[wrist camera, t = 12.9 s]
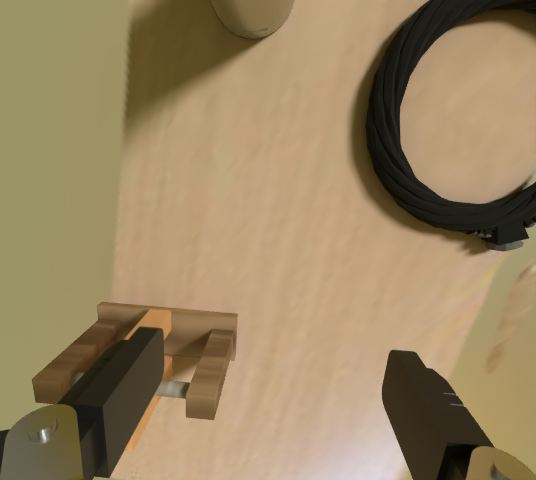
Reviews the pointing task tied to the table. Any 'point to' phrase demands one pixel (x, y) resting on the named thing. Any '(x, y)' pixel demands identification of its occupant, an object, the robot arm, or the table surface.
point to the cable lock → (388, 133)
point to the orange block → (164, 321)
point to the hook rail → (176, 343)
